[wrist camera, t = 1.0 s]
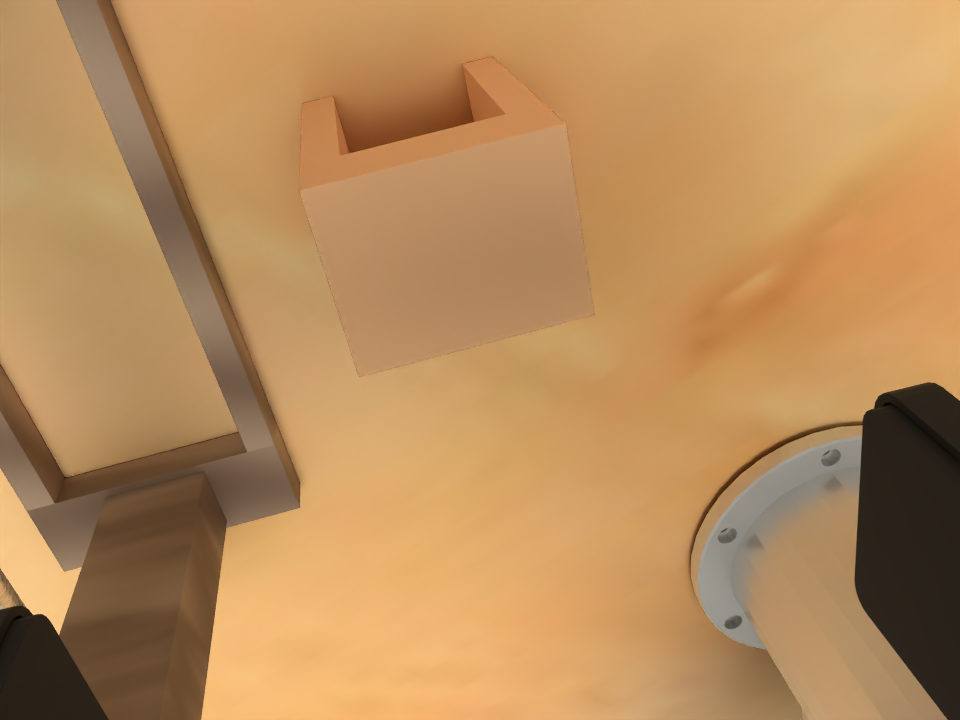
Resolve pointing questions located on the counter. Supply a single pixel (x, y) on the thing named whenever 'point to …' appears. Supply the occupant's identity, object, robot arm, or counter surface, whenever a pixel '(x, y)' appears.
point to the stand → (158, 478)
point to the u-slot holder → (447, 226)
